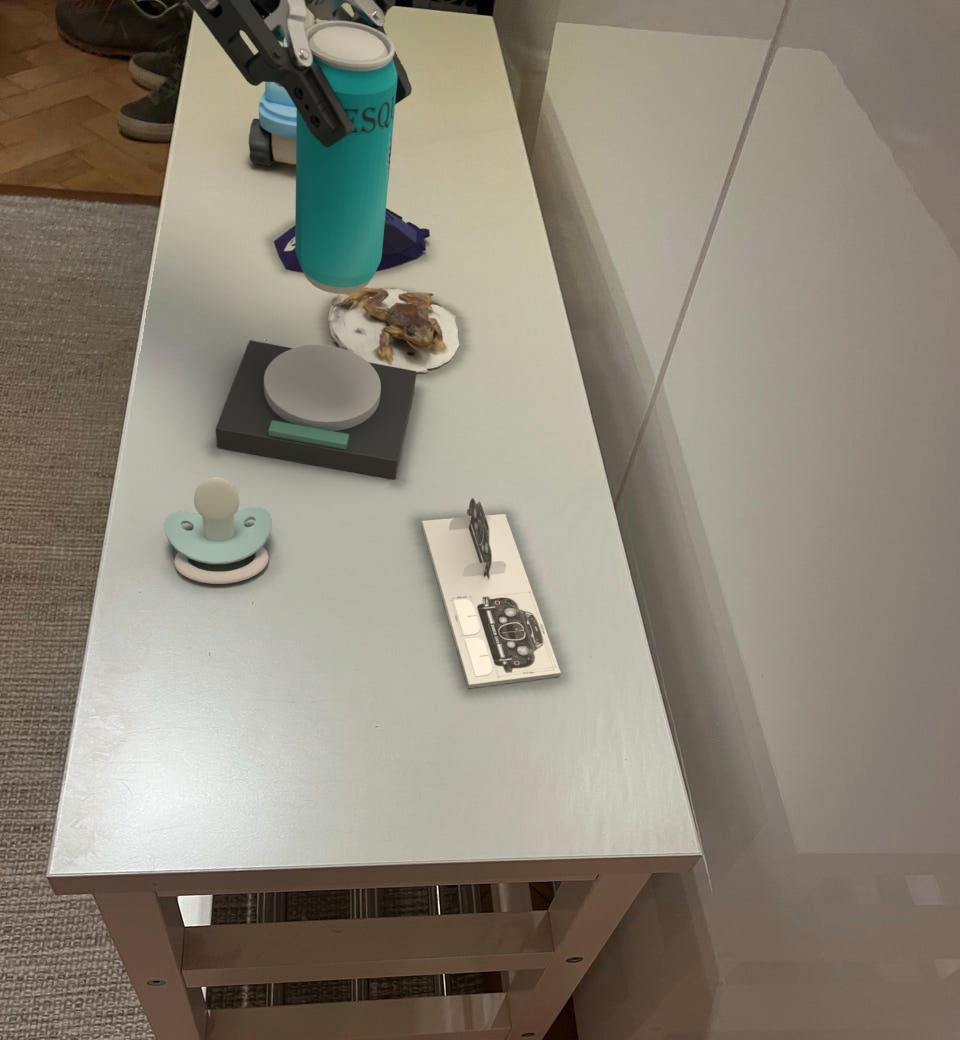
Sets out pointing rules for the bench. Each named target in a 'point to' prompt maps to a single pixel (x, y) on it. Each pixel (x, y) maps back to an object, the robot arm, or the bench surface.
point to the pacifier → (219, 534)
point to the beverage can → (346, 160)
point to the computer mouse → (397, 247)
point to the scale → (318, 408)
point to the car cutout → (488, 600)
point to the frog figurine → (394, 328)
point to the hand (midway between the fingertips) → (370, 118)
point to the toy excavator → (275, 123)
